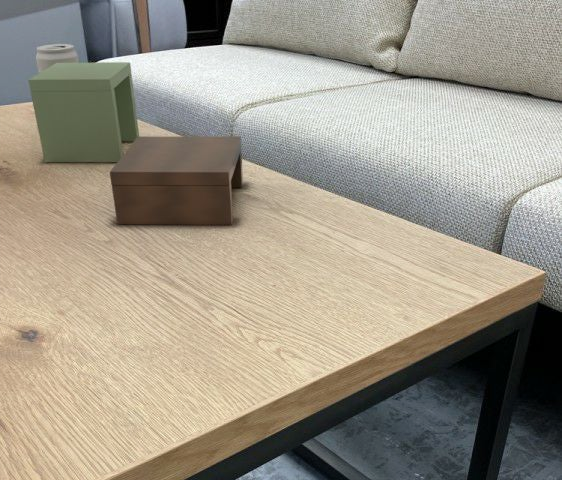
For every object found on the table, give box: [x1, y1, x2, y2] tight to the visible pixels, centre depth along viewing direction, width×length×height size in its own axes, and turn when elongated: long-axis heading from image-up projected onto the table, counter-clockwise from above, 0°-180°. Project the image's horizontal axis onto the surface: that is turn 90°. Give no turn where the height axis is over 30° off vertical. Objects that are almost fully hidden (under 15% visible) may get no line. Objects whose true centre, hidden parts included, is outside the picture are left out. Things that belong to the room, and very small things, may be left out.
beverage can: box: [35, 43, 80, 74], centre depth 112 cm, size 6×6×12 cm
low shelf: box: [109, 136, 244, 226], centre depth 83 cm, size 13×14×6 cm
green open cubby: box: [28, 61, 140, 163], centre depth 101 cm, size 11×12×11 cm
